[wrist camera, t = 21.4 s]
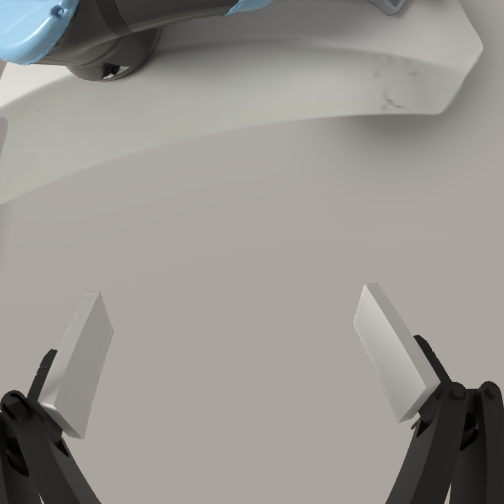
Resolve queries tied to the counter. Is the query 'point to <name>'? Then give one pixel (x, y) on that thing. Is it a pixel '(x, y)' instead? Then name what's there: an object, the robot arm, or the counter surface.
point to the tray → (388, 5)
